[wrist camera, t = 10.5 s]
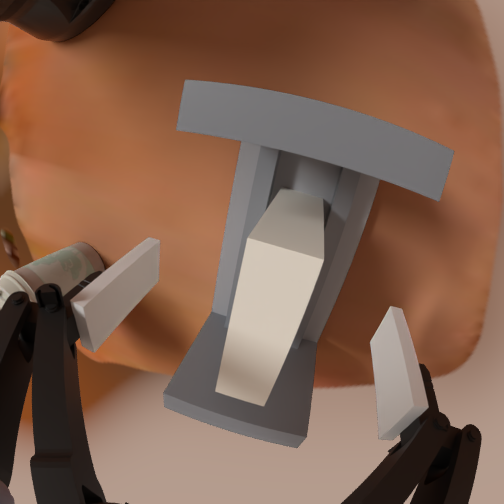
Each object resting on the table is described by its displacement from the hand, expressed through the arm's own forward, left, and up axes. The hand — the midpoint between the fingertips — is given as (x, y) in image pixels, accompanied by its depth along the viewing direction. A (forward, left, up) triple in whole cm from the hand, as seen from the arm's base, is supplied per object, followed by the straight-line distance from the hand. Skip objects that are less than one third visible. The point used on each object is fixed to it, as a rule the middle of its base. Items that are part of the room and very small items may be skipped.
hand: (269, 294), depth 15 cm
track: (0, 0, -8) cm, 8 cm away
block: (+1, 0, -7) cm, 7 cm away
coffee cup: (+9, -21, -8) cm, 24 cm away
